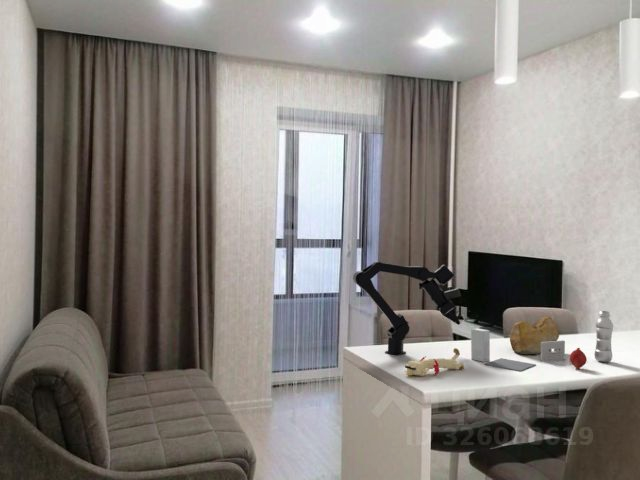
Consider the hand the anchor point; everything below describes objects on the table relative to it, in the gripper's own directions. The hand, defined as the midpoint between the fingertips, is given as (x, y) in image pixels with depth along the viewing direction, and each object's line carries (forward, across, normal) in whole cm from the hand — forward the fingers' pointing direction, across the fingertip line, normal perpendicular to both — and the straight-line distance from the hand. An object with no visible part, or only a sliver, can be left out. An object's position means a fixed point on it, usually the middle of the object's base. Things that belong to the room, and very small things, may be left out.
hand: (458, 322), depth 232 cm
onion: (+37, -14, -25) cm, 47 cm away
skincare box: (+16, -8, +2) cm, 18 cm away
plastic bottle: (+46, 0, -36) cm, 58 cm away
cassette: (+34, -2, -20) cm, 39 cm away
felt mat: (+22, -14, -6) cm, 27 cm away
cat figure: (+4, -32, +18) cm, 37 cm away
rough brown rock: (+30, +15, -17) cm, 38 cm away
